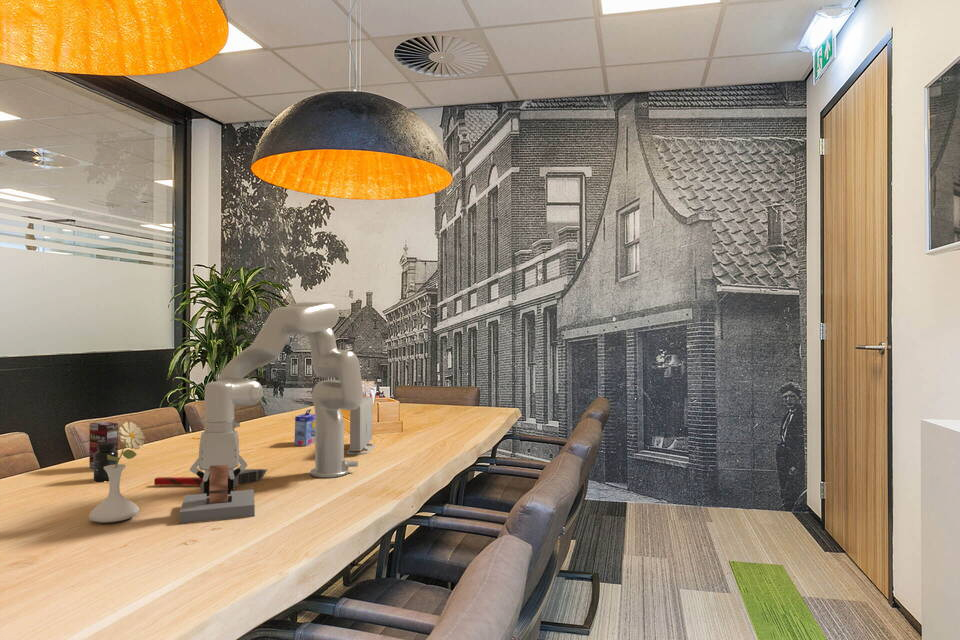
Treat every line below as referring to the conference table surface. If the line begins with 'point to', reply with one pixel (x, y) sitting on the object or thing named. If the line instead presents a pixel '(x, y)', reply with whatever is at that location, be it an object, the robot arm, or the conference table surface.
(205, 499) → the board
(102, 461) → the supplement bottle
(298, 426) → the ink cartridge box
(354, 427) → the network device
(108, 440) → the supplement box
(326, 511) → the conference table surface
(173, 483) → the grey and red axe
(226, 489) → the peg
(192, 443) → the conference table surface
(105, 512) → the flower in vase
